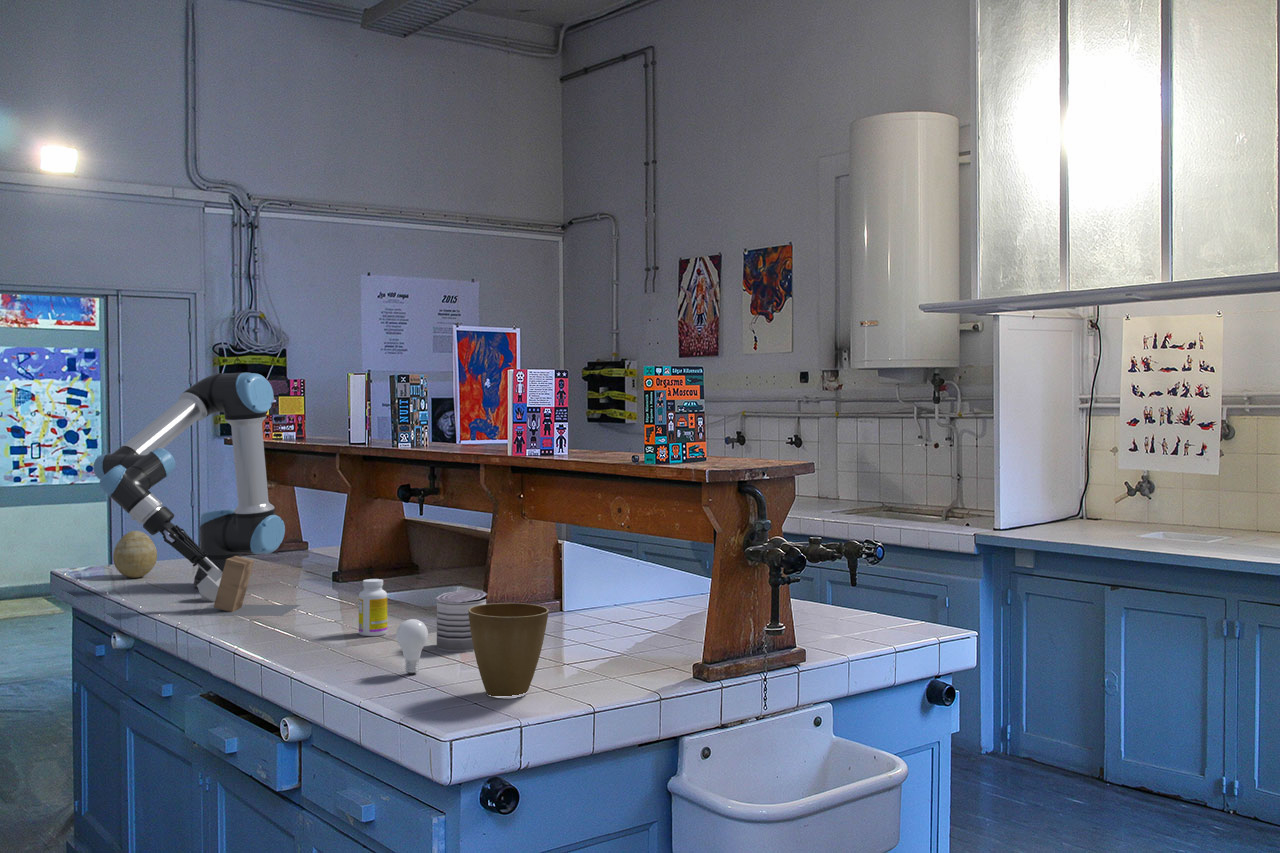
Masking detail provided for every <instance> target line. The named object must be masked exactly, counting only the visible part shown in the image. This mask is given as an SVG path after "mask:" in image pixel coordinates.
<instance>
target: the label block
mask: <svg viewBox="0 0 1280 853" xmlns="http://www.w3.org/2000/svg"><path fill="white" fill-rule="evenodd" d="M254 563H255V560H253V559H249V558H245V557H242V556H241V557H239V556H234V557H231V558H228V559H226V562H225V566H224V570H223V573H222V577H221V581H220V585H219V588H218V592H217V596H216V599H215V602H213V603H214V604H213V605H214V608H218V609H222V610H225V611H229V612H234V611H236V610H238V609H240V608H242V605H244V604H243V603H244V600H245V595H246V592H247V589H248V585H249V581H250V577H251V573H252V570H253V567H254Z"/></svg>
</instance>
